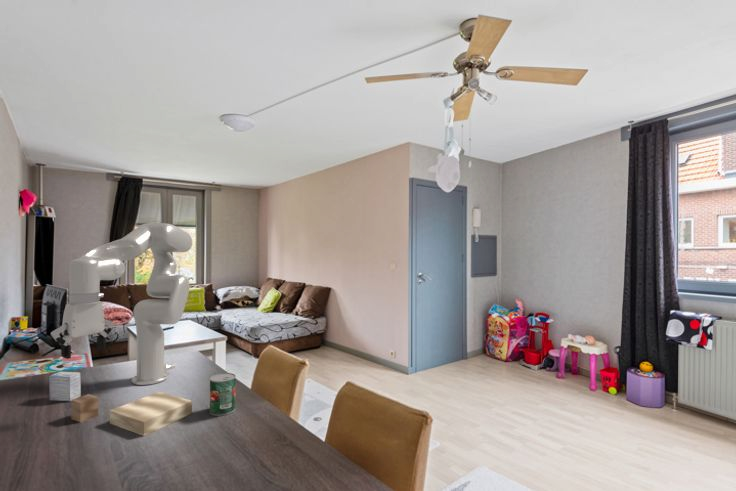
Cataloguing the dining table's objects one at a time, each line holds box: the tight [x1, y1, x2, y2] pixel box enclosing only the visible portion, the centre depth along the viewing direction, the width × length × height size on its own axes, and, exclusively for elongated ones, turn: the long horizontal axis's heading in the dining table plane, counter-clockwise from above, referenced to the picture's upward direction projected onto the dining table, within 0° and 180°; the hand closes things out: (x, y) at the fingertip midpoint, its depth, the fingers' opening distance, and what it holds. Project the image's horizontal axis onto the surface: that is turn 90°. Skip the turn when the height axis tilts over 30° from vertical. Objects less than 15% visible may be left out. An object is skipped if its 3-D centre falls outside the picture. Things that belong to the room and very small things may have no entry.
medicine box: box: [48, 371, 82, 402], centre depth 133 cm, size 8×4×9 cm, turn 84°
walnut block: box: [70, 393, 99, 423], centre depth 119 cm, size 5×5×6 cm
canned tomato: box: [209, 372, 237, 417], centre depth 125 cm, size 8×8×11 cm
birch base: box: [109, 391, 193, 437], centre depth 119 cm, size 16×16×4 cm
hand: (84, 353), depth 119 cm, fingers open, 9 cm apart
